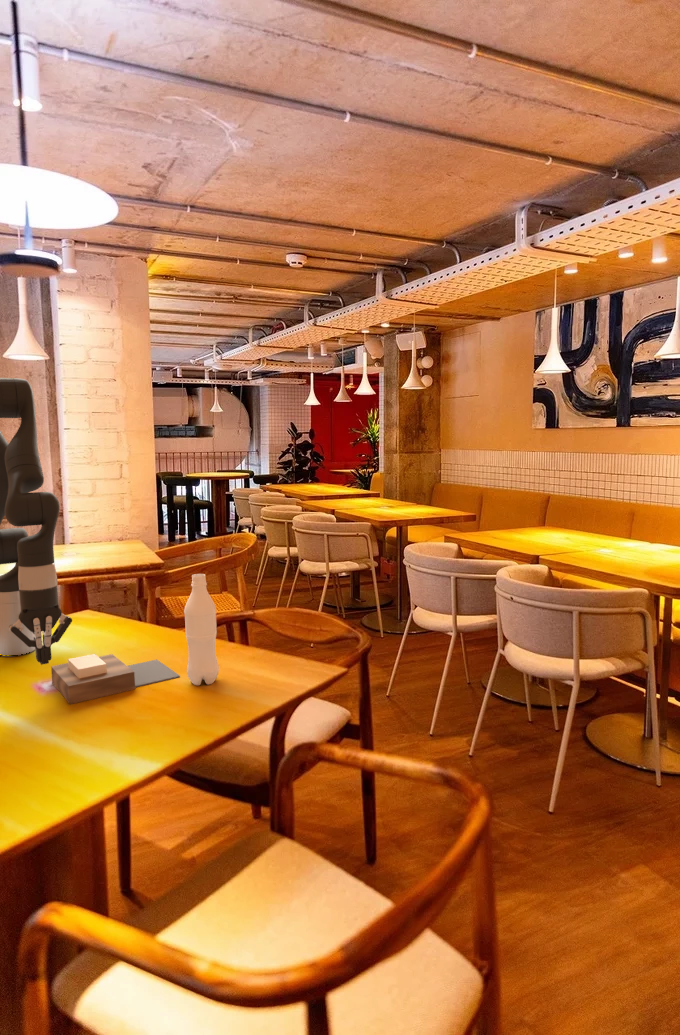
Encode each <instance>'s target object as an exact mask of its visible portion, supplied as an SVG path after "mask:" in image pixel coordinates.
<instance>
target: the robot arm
mask: <svg viewBox="0 0 680 1035" xmlns="http://www.w3.org/2000/svg"><path fill="white" fill-rule="evenodd" d="M32 387H33V386H32V385H31V384H30V382H29V380H27V379H24V378H17V377H16V378H15V377H0V419H21V420H20V423H19V427H18V429H17V431H16V432H15V434H14V435H13V437H12V438H11V440H10V442H8V441H7V439H6V438H5V436H4V435H3V432H1V430H0V525H2V521H3V519H4V518H5V519H6V520H7V522H8V523H9V524H10V525H11V526H14V527H11V528H1V529H0V565H10V564H15V565H14V567H13V568H12V569H10V570H9V571H8V572H6V573H4V574H2V575H0V654H1V655H18V656H22V655H21V654H23V655H26V653H27V654H29V652H30V653H32V652H34V651H35V659H36V661H37V662H38V663H40V665H41V666H42V665H46V664H49V662H50V661H51V659H52V645H53V644H55V643H58V642H60V640H61V638H63V635H64V634H65V633H66V631H67V629H68V628H69V626H70V625H71V624H72V622H73V618H72V617H70V616H69V615H66V614H64V613H63V612H62V610H61V608H60V606H59V605H60V604H59V592H58V591H59V589H58V588H59V587H58V575H57V570H56V565H55V554H54V553H55V552H54V540H55V531H56V526H57V522H58V519H59V516H60V515H59V514H60V508H61V507H60V501H59V498H58V497H57V496H56V495H55V494H54V493H53V492H51V491H40V492H39V491H38V492H37V490H39V489H40V488H42V486H43V485H44V482H45V478H44V472H43V469H42V464H41V463H42V462H41V459H40V455H39V447H38V429H37V419H36V418H37V416H36V414H37V413H36V405H35V396H34V390H33V388H32ZM34 491H36V492H34ZM28 526H29V527H30V526H31V527H32V526H41V527H40V529H39V530H38V532H37V533H35V534H32V535H29V534H28V531H27V530H26V529H25V528H23V527H28ZM57 623H59V624H58V626H57V628H56V629H55V630H54V632H53V631H52V630H53V629H54V628H55V625H56V624H57ZM52 632H53V633H52Z"/></svg>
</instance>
